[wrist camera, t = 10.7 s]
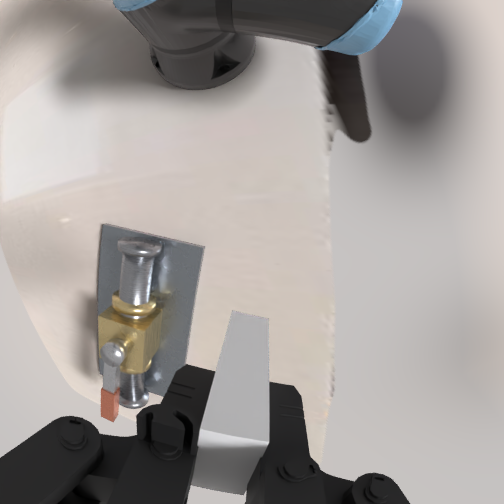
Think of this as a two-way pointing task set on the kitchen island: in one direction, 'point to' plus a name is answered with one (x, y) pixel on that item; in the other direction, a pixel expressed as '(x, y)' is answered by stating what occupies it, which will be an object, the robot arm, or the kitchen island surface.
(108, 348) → the lever
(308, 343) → the kitchen island surface
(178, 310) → the valve body
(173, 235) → the kitchen island surface
